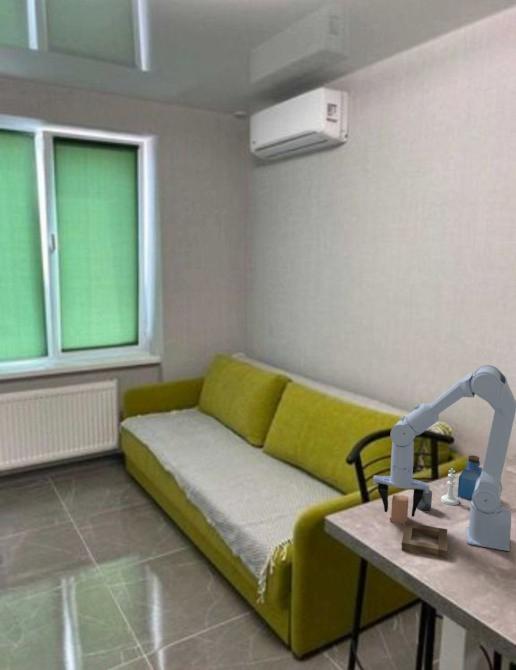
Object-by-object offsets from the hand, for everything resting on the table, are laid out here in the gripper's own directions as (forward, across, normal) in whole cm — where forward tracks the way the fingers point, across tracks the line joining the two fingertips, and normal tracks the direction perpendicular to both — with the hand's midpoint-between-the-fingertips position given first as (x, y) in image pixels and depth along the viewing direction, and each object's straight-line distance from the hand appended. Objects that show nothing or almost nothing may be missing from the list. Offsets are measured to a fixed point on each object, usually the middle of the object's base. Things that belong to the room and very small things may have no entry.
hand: (399, 512), depth 141 cm
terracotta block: (+2, 0, 0) cm, 2 cm away
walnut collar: (+2, -7, +10) cm, 12 cm away
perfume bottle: (+2, -19, -22) cm, 29 cm away
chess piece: (+2, -13, -16) cm, 21 cm away
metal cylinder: (+2, -6, -9) cm, 11 cm away
